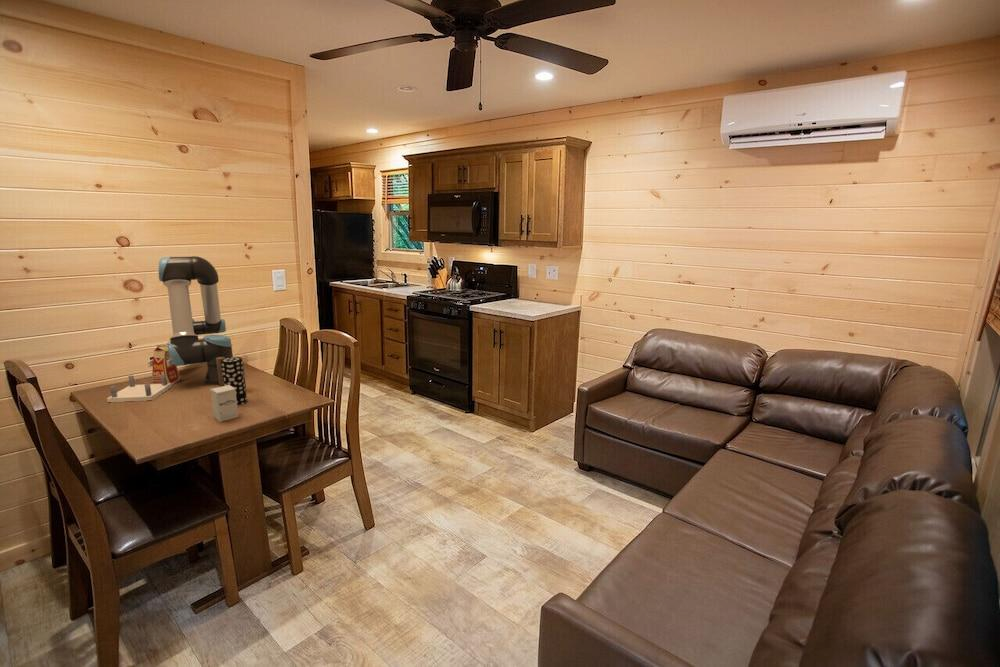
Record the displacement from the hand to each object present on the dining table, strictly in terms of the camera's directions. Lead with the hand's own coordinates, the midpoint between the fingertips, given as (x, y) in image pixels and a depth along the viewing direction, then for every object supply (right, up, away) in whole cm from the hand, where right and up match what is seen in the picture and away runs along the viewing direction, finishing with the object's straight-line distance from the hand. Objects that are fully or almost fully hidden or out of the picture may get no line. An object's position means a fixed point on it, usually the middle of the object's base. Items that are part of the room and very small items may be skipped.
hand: (158, 364), depth 236 cm
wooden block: (+40, -13, -6) cm, 42 cm away
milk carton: (-1, -10, +7) cm, 12 cm away
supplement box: (+52, -20, -34) cm, 65 cm away
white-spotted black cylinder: (+48, -16, -18) cm, 53 cm away
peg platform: (-1, -14, -10) cm, 17 cm away
